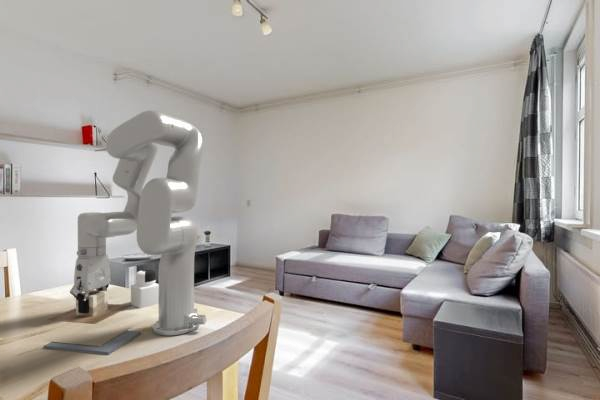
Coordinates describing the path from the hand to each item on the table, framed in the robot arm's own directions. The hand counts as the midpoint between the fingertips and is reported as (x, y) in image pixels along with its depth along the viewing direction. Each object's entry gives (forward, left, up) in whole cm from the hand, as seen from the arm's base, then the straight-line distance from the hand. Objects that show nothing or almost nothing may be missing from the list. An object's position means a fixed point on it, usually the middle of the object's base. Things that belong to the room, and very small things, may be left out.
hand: (92, 308), depth 104 cm
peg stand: (0, 0, -2) cm, 2 cm away
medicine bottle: (-11, -11, -2) cm, 16 cm away
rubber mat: (-15, +16, -2) cm, 22 cm away
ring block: (0, 0, -1) cm, 1 cm away
